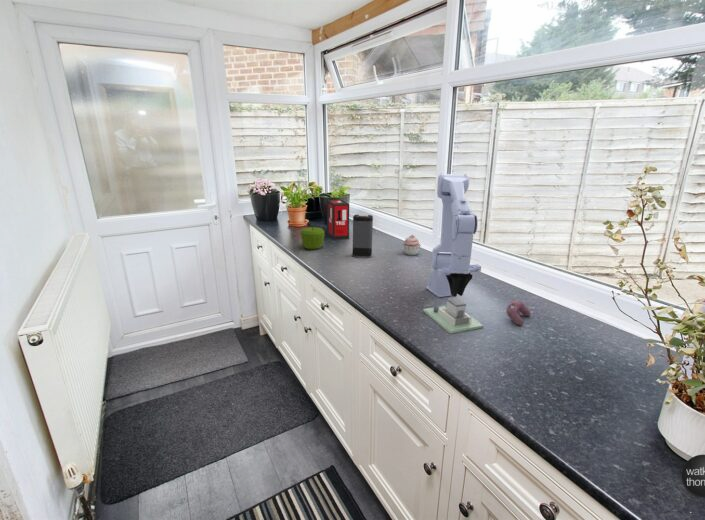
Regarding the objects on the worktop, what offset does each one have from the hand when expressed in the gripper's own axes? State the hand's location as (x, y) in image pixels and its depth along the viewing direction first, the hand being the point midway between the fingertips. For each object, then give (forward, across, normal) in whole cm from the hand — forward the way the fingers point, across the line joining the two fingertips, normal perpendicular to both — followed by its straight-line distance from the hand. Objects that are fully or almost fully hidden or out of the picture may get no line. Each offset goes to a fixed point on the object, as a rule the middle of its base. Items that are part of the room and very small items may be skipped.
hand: (456, 295), depth 117 cm
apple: (+9, -24, +93) cm, 96 cm away
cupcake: (+9, +21, +69) cm, 73 cm away
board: (+9, 0, +1) cm, 9 cm away
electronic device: (+9, -4, +73) cm, 74 cm away
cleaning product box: (+9, -4, +114) cm, 114 cm away
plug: (+8, 0, 0) cm, 8 cm away
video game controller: (+9, +21, -5) cm, 23 cm away
